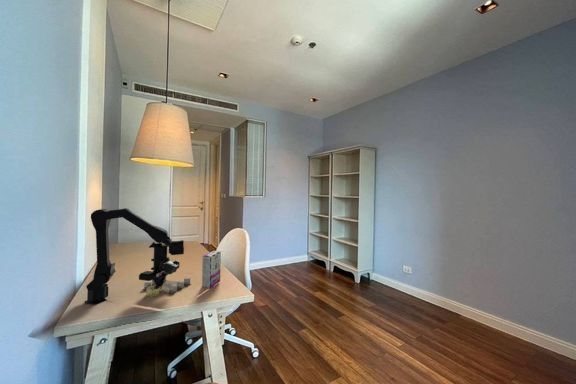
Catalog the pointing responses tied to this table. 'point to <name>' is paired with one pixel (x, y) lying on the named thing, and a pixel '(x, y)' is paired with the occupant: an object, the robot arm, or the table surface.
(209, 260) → the candy bar box
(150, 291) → the hexagonal box
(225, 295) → the table surface
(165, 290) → the board
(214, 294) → the table surface
